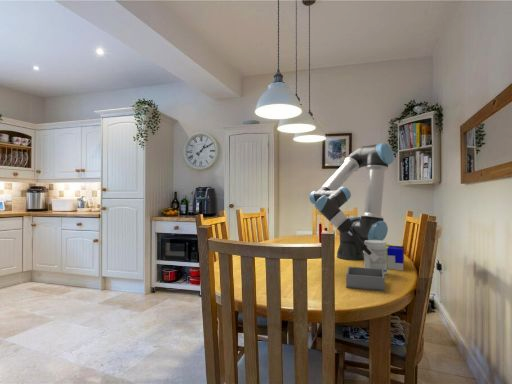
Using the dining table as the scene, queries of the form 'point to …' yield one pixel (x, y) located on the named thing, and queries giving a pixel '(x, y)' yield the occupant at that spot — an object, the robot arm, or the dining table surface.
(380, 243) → the supplement tub
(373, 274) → the crate
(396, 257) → the puzzle toy
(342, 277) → the dining table surface
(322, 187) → the robot arm
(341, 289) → the dining table surface
